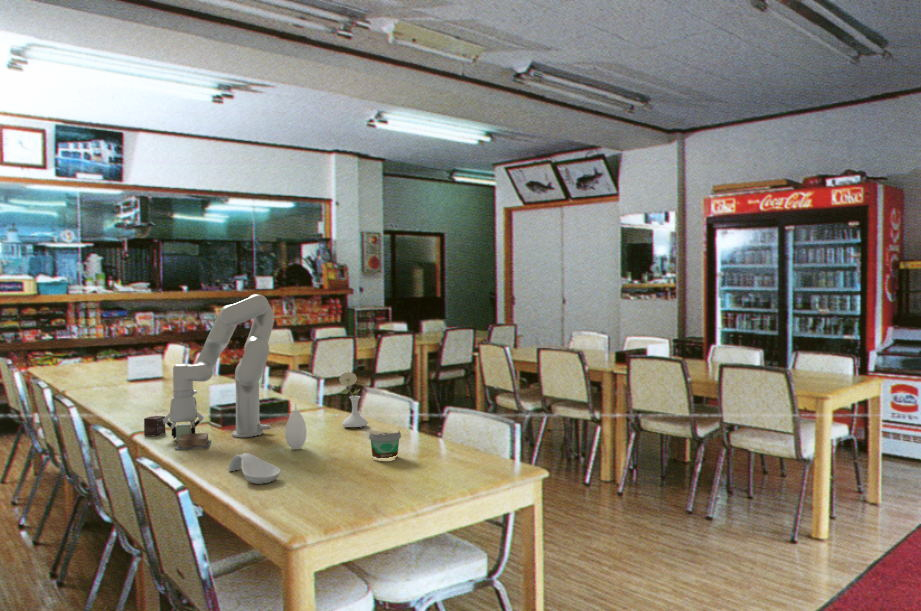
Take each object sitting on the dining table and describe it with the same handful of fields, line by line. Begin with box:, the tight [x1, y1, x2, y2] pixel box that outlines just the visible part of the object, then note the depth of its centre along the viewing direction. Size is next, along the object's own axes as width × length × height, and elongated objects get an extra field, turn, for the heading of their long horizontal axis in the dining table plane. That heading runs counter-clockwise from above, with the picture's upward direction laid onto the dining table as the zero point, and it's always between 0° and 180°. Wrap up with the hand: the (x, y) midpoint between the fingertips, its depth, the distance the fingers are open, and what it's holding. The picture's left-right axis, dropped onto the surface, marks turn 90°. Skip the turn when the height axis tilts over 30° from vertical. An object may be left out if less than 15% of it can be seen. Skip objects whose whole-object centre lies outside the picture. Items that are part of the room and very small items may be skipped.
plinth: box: [174, 432, 212, 451], centre depth 259 cm, size 12×12×4 cm
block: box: [175, 423, 192, 442], centre depth 268 cm, size 5×5×6 cm
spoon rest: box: [227, 452, 282, 485], centre depth 218 cm, size 24×12×7 cm, turn 49°
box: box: [143, 415, 166, 437], centre depth 277 cm, size 6×6×7 cm
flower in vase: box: [338, 371, 368, 428], centre depth 293 cm, size 13×11×25 cm
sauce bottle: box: [284, 403, 307, 450], centre depth 254 cm, size 8×8×18 cm
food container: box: [368, 430, 402, 458], centre depth 240 cm, size 12×6×10 cm, turn 118°
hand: (183, 436), depth 268 cm, fingers open, 6 cm apart
